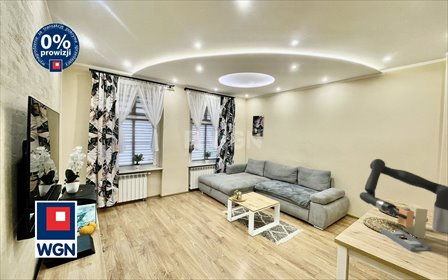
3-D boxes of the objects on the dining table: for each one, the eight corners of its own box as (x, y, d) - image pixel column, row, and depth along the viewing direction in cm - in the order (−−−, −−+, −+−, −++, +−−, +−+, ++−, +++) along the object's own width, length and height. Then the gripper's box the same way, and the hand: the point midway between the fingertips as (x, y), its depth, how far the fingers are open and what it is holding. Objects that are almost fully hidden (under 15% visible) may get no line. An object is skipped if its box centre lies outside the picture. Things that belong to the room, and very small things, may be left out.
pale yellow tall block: (426, 238, 126) (429, 209, 124) (413, 237, 127) (416, 208, 126) (416, 232, 133) (419, 204, 132) (404, 231, 135) (407, 203, 134)
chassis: (380, 232, 132) (380, 229, 132) (398, 232, 133) (398, 228, 133) (410, 251, 112) (410, 247, 112) (431, 250, 113) (431, 246, 113)
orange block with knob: (397, 222, 124) (399, 206, 124) (404, 222, 125) (406, 206, 124) (405, 226, 120) (407, 210, 119) (412, 226, 120) (414, 209, 119)
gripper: (377, 201, 135) (400, 212, 118) (395, 201, 136) (421, 212, 119) (376, 211, 136) (399, 223, 119) (394, 211, 137) (419, 223, 120)
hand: (410, 217), depth 119 cm, fingers closed on orange block with knob, 5 cm apart
